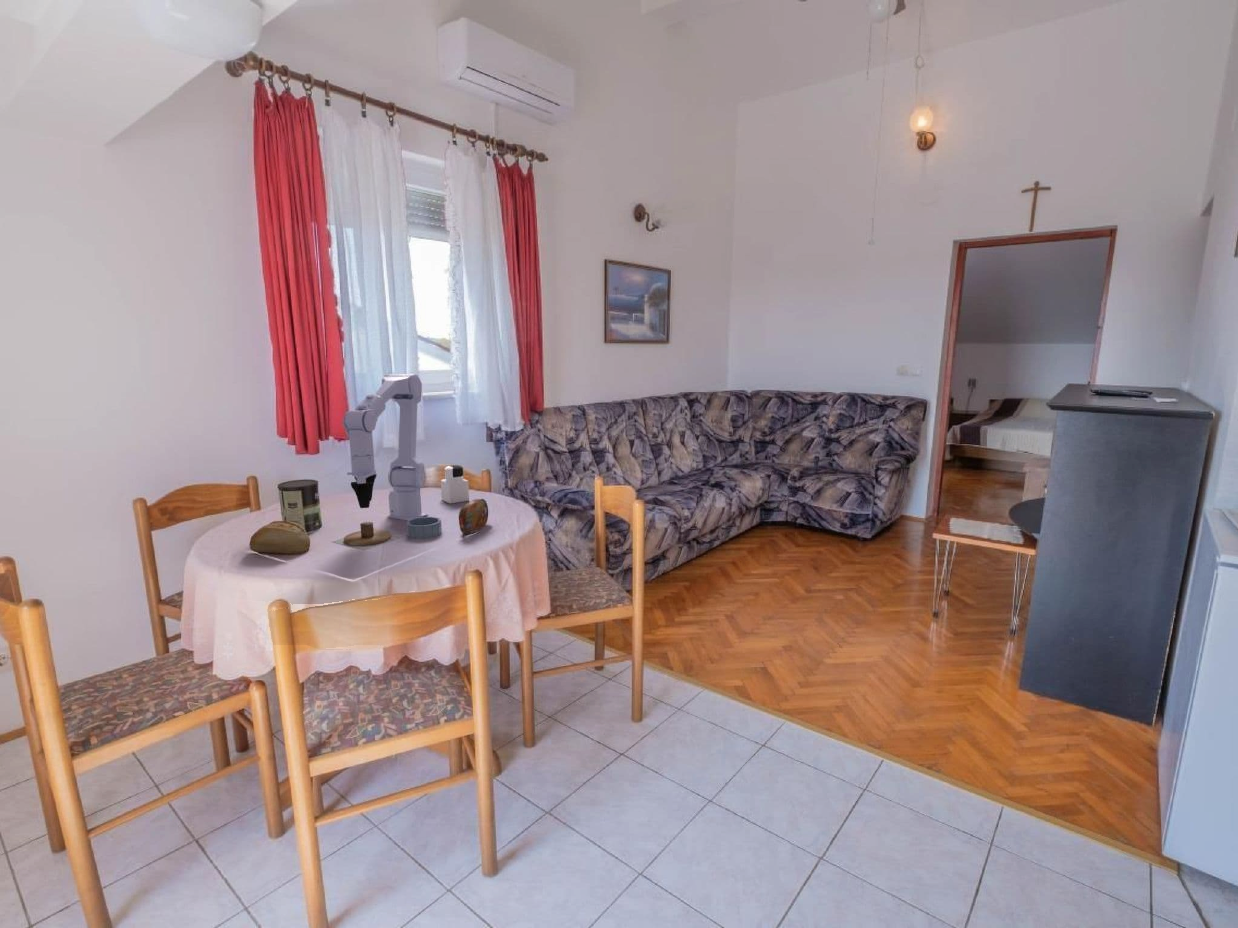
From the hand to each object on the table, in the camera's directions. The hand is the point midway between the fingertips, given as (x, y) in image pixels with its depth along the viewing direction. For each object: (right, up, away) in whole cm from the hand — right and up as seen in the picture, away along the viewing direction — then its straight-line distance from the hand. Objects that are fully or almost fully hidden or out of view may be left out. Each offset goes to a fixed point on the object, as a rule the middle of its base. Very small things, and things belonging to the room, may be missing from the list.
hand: (366, 504), depth 166 cm
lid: (0, -10, +2) cm, 10 cm away
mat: (0, -10, +2) cm, 10 cm away
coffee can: (-23, -9, +11) cm, 27 cm away
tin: (+26, -9, +12) cm, 30 cm away
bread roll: (-19, -12, -7) cm, 24 cm away
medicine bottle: (+12, -2, +45) cm, 46 cm away
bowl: (+14, -9, +7) cm, 18 cm away
